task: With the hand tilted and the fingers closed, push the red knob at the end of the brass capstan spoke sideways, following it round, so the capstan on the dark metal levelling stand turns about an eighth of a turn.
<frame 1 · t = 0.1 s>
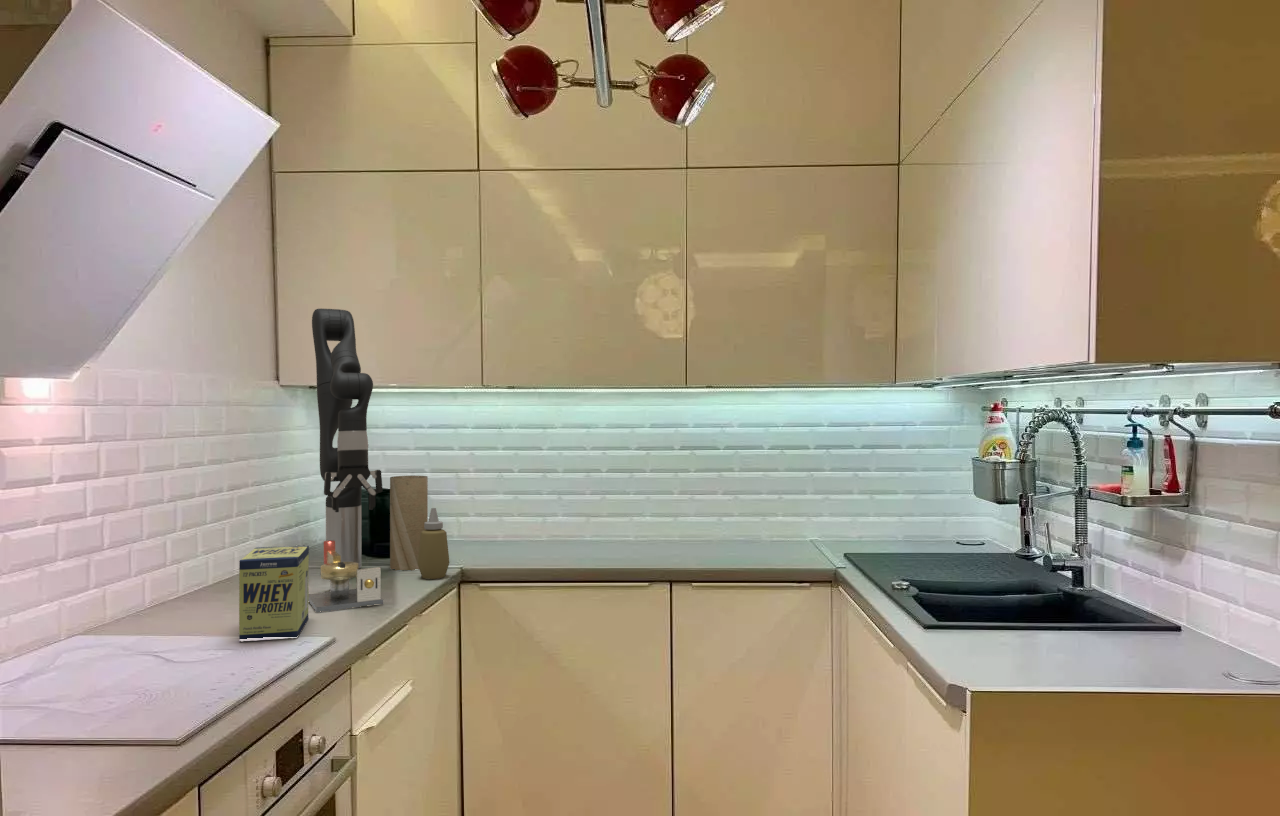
hand: (353, 511, 207), 17 cm above the worktop, tool pointing down, fingers open, 8 cm apart
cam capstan: (335, 560, 184), point 9 cm above the worktop, hinge at 0.0°
tube: (409, 567, 220), on the worktop
protein box: (275, 631, 158), on the worktop
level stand: (344, 602, 180), on the worktop
squeeze bottle: (433, 578, 207), on the worktop
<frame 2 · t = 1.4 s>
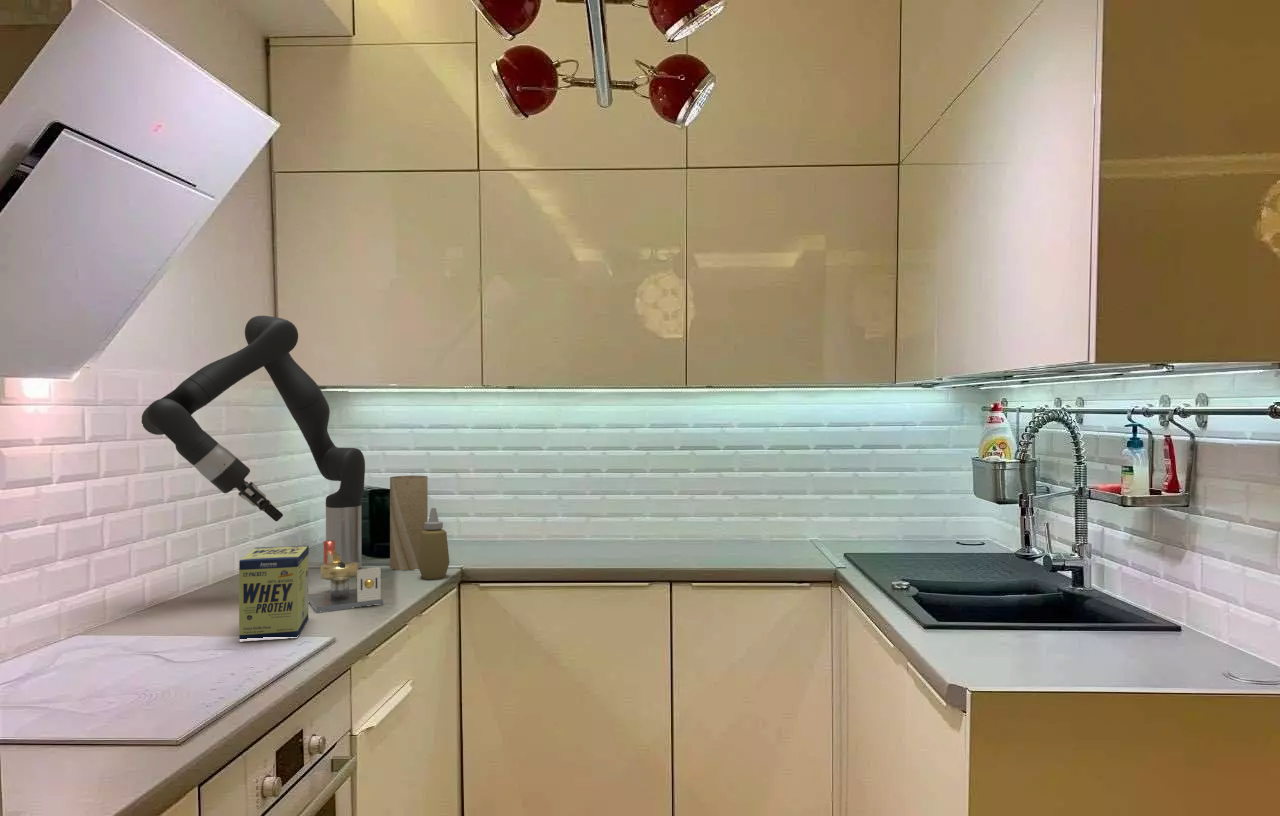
hand: (278, 516, 186), 19 cm above the worktop, tool tilted 45°, fingers open, 7 cm apart
nothing on the worktop moved.
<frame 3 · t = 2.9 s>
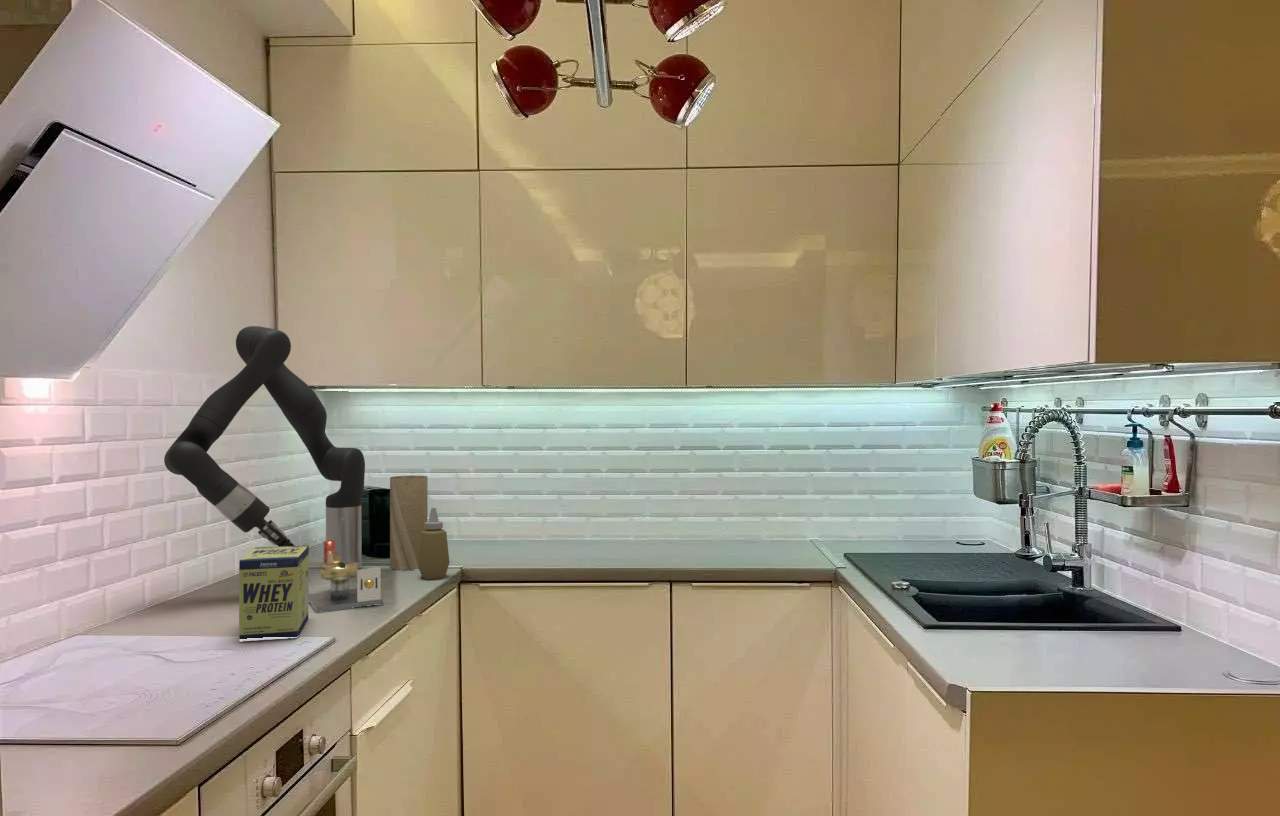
hand: (299, 556, 188), 9 cm above the worktop, tool tilted 45°, fingers closed
nothing on the worktop moved.
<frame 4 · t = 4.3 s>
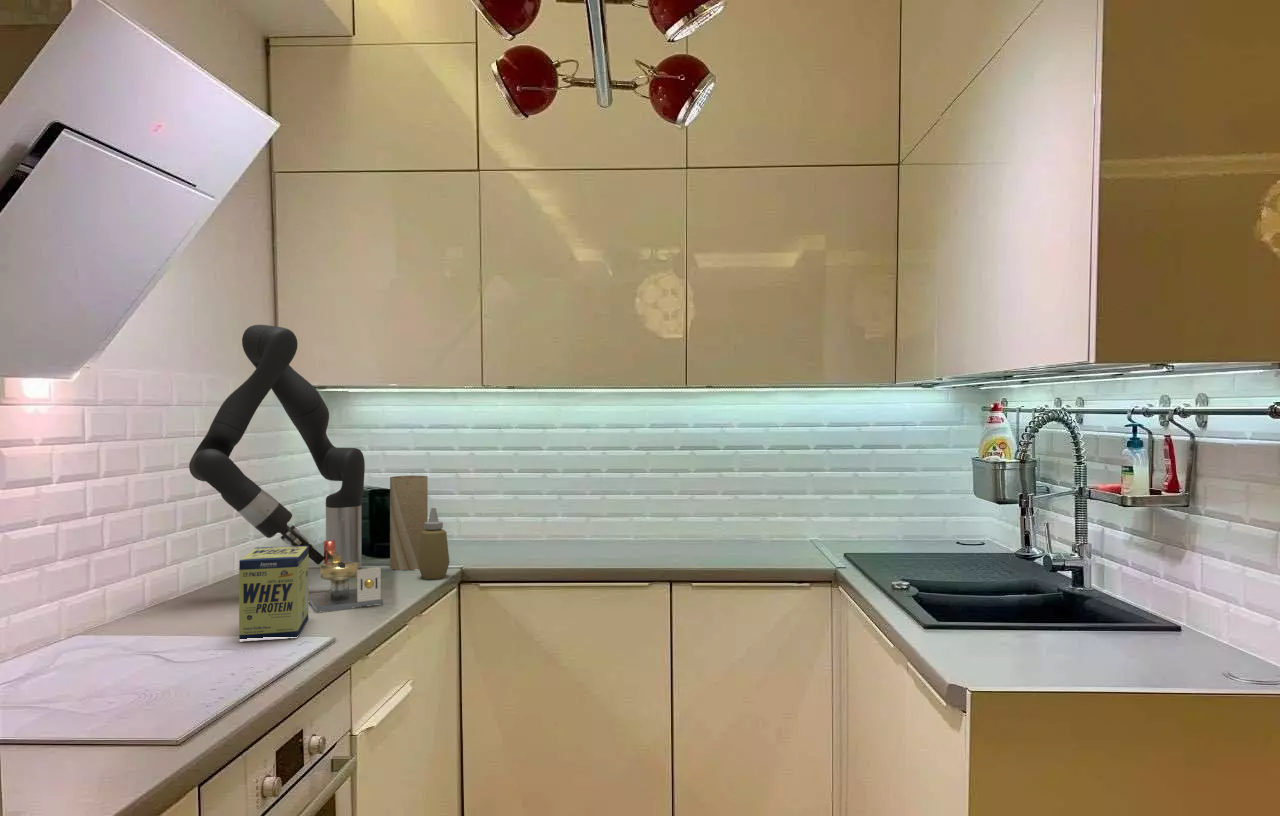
hand: (321, 561, 191), 7 cm above the worktop, tool tilted 45°, fingers closed
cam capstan: (335, 560, 184), point 9 cm above the worktop, hinge at -0.2°, touching gripper
everything else where it was.
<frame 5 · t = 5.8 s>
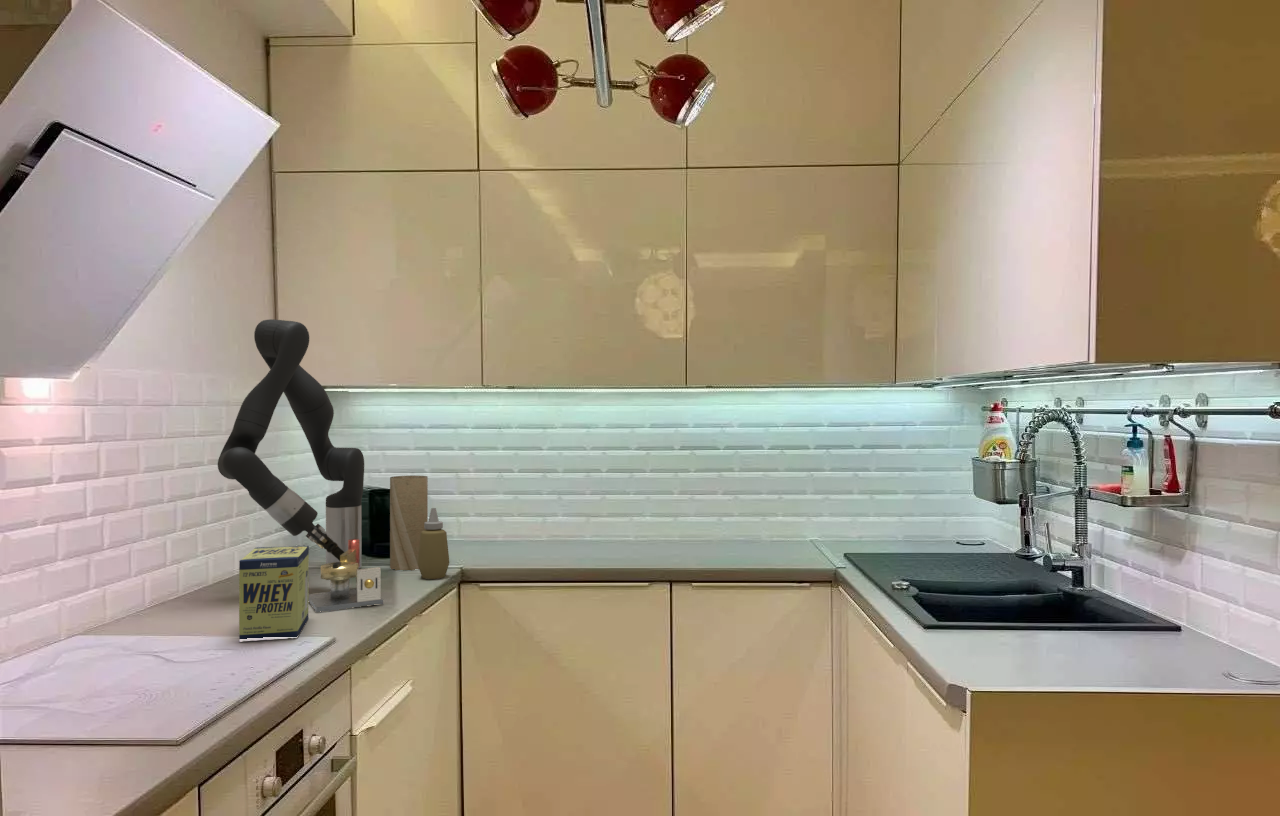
hand: (345, 559, 193), 7 cm above the worktop, tool tilted 45°, fingers closed
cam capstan: (345, 559, 185), point 9 cm above the worktop, hinge at -23.7°, touching gripper
everything else where it was.
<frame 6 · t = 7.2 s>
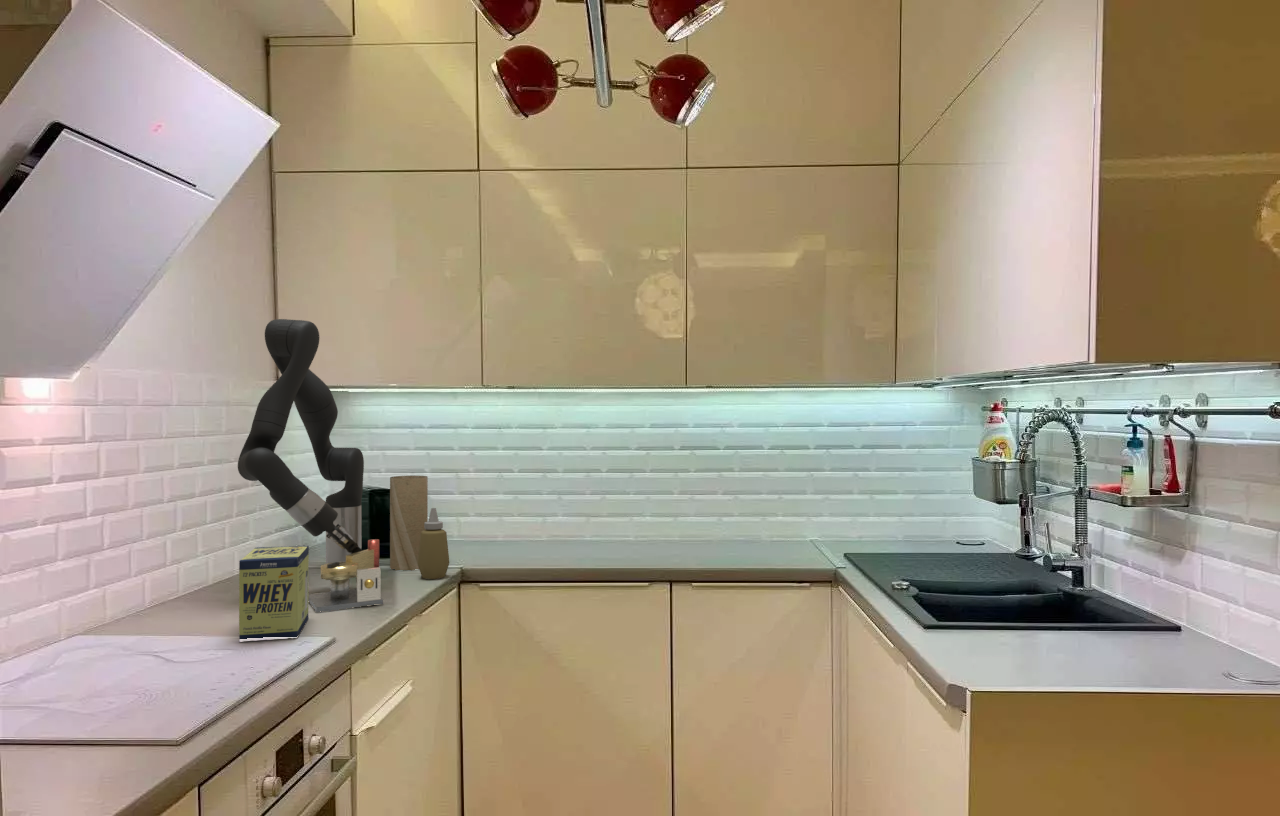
hand: (365, 559, 193), 7 cm above the worktop, tool tilted 45°, fingers closed
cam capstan: (353, 559, 185), point 9 cm above the worktop, hinge at -44.7°, touching gripper
everything else where it was.
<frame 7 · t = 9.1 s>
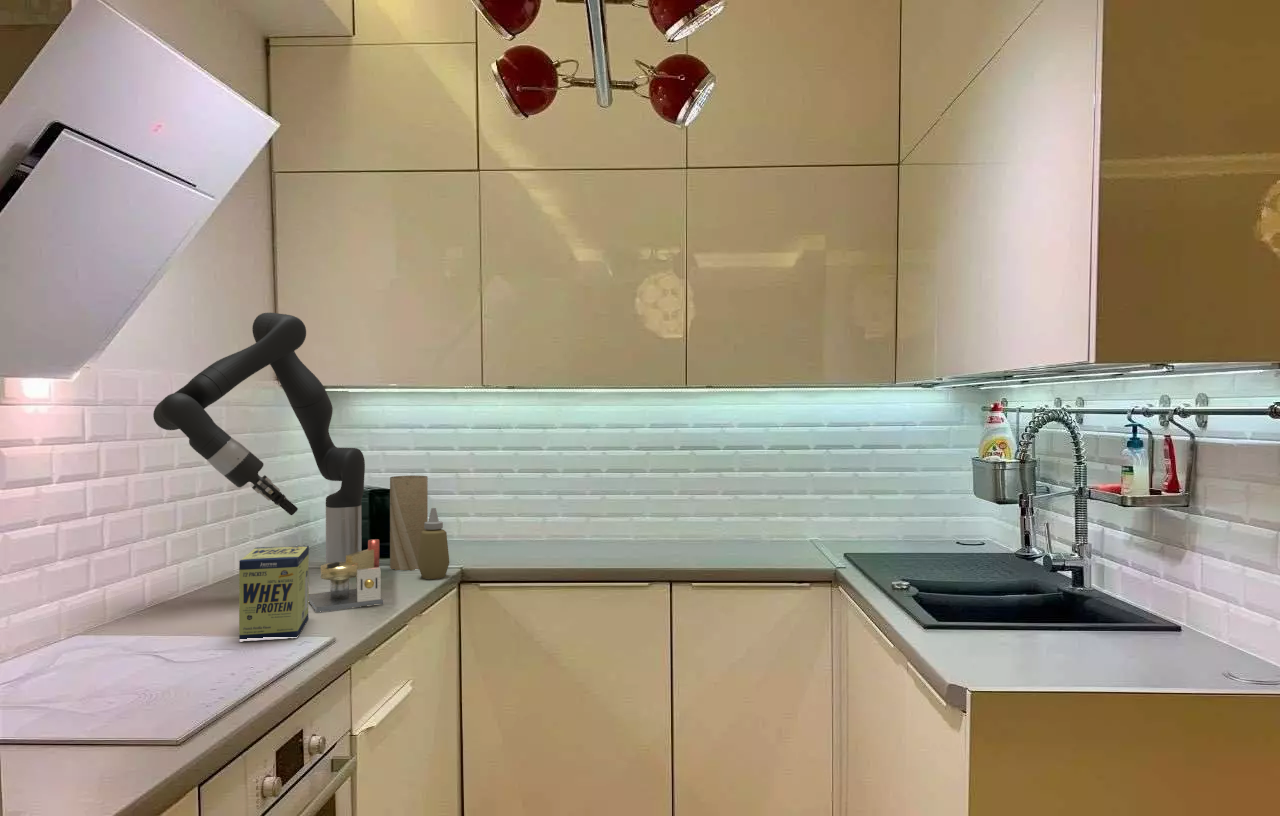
hand: (294, 512, 186), 20 cm above the worktop, tool tilted 45°, fingers closed
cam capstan: (353, 559, 185), point 9 cm above the worktop, hinge at -44.8°
everything else where it was.
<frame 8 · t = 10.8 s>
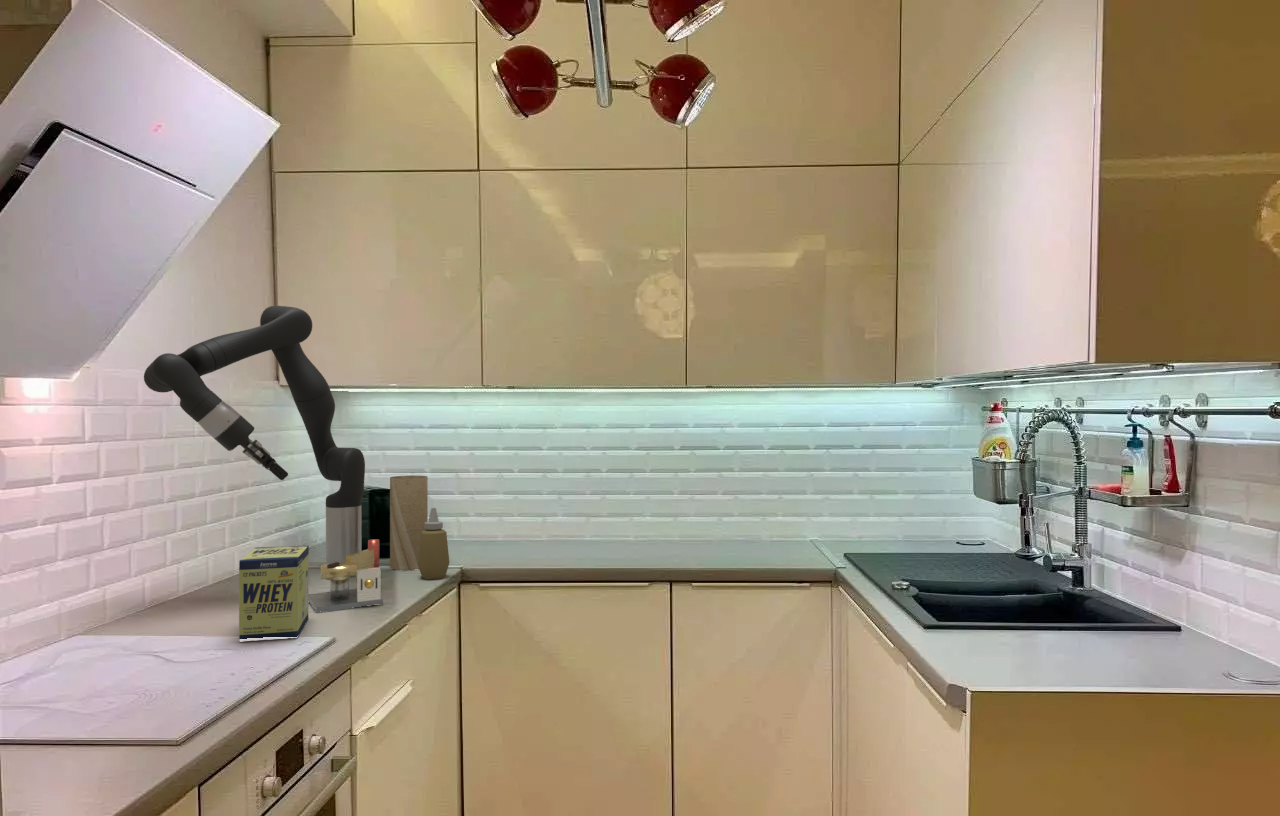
hand: (285, 477, 186), 28 cm above the worktop, tool tilted 45°, fingers closed
nothing on the worktop moved.
at the end: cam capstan at -45° (first picture: +0°) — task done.
